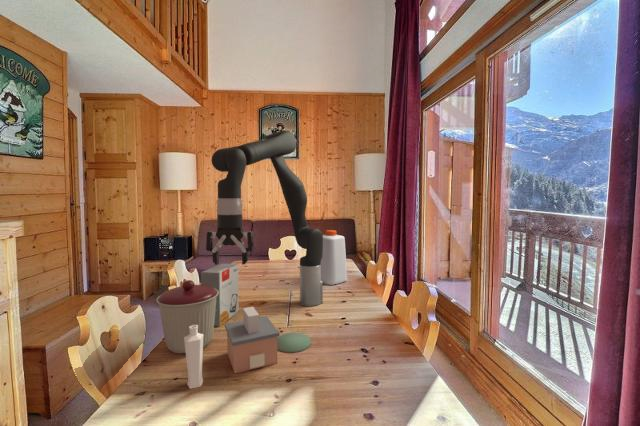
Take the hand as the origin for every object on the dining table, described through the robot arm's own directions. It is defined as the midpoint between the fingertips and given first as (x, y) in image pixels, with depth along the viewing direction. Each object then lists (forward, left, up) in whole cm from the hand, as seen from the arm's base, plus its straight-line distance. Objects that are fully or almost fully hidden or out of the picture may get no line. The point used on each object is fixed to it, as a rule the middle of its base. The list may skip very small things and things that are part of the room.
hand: (230, 264), depth 97 cm
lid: (-4, +11, -18) cm, 22 cm away
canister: (+12, -5, -26) cm, 30 cm away
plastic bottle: (-62, -49, -26) cm, 83 cm away
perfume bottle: (+12, +17, -26) cm, 34 cm away
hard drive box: (0, -23, -26) cm, 35 cm away
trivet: (-18, +8, -26) cm, 33 cm away
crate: (-4, +11, -26) cm, 29 cm away
